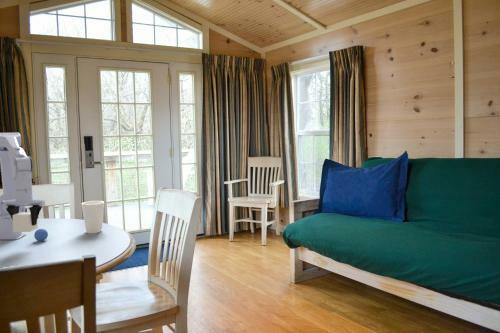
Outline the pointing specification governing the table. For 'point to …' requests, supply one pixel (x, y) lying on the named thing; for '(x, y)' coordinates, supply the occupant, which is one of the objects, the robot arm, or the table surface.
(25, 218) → the white cubic block
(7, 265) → the table surface
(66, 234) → the table surface
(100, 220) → the foam cup
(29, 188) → the robot arm
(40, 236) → the ball
